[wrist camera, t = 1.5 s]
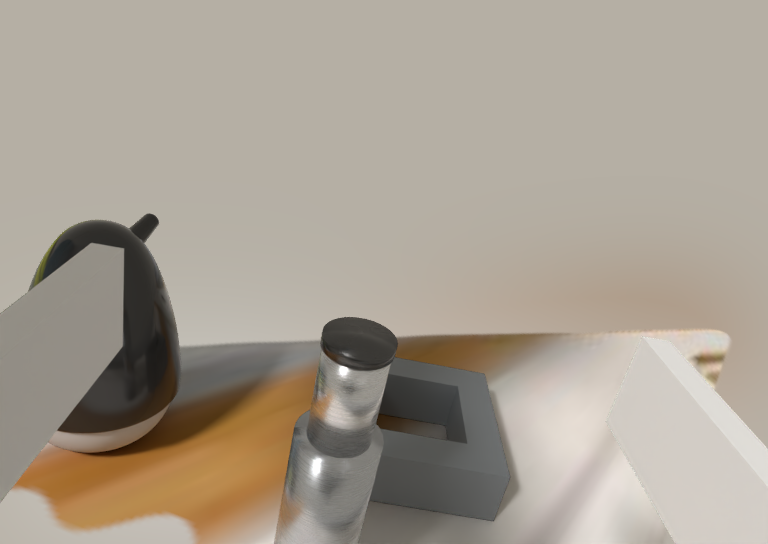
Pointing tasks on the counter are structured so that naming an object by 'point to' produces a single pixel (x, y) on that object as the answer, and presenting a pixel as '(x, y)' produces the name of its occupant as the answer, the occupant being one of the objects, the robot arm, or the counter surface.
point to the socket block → (441, 443)
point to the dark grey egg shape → (140, 343)
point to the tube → (338, 437)
